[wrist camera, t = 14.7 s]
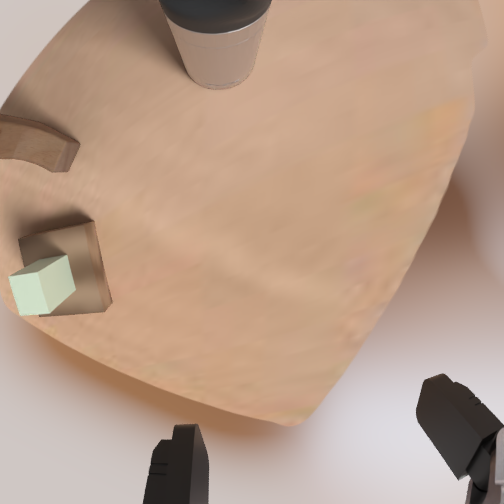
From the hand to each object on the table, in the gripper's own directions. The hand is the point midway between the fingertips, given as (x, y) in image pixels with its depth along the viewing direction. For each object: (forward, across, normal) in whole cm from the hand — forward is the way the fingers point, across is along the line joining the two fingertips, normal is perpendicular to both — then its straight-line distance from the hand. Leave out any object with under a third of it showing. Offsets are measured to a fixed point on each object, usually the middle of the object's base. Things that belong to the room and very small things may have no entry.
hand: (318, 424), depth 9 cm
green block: (+30, +27, +1) cm, 40 cm away
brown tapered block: (+34, +27, +1) cm, 43 cm away
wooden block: (+33, +26, -17) cm, 46 cm away
